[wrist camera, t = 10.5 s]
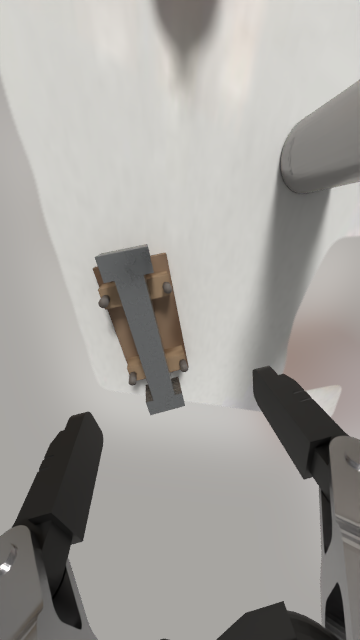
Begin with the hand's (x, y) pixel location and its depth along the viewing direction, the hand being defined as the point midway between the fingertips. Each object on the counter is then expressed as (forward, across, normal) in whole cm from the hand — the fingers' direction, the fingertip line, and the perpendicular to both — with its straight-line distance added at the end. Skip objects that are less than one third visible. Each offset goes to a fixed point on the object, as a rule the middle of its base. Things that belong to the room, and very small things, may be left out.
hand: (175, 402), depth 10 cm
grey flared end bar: (+21, +3, +7) cm, 22 cm away
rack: (+25, +3, +7) cm, 27 cm away
